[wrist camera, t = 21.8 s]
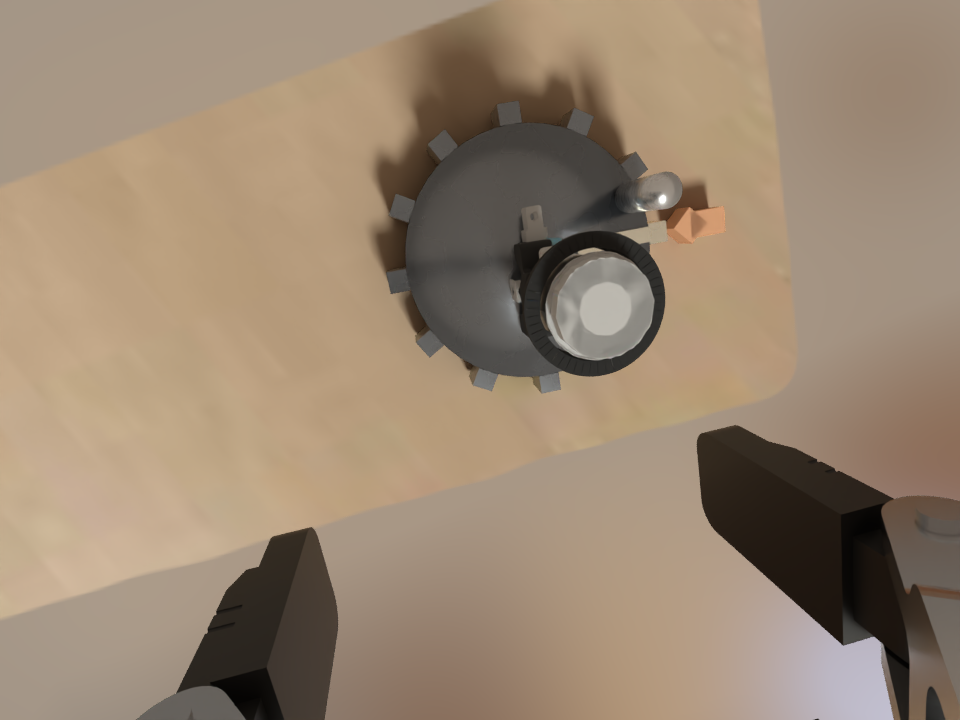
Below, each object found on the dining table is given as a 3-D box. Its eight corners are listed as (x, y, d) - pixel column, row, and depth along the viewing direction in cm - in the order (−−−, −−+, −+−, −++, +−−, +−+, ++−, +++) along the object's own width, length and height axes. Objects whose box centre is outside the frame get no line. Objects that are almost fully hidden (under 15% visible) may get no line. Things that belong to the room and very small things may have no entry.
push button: (476, 215, 27) (515, 201, 17) (578, 199, 27) (671, 178, 18) (495, 342, 28) (540, 395, 19) (591, 325, 29) (682, 368, 19)
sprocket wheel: (417, 408, 31) (419, 447, 25) (358, 135, 27) (344, 107, 21) (662, 356, 32) (718, 383, 26) (636, 89, 28) (695, 51, 23)
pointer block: (662, 246, 31) (675, 246, 29) (659, 211, 30) (672, 210, 29) (710, 237, 31) (725, 237, 30) (708, 202, 31) (723, 200, 29)
